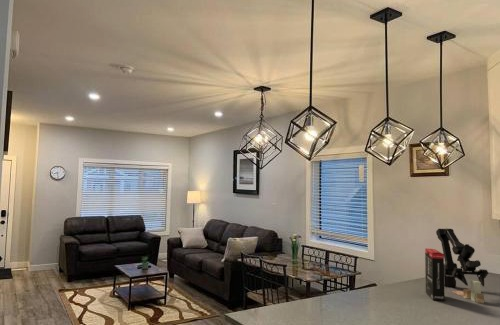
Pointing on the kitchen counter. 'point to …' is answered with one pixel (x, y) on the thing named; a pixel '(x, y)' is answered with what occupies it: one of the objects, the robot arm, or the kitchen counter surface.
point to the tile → (459, 292)
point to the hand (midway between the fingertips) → (475, 285)
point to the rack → (478, 296)
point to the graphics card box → (434, 274)
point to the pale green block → (475, 289)
